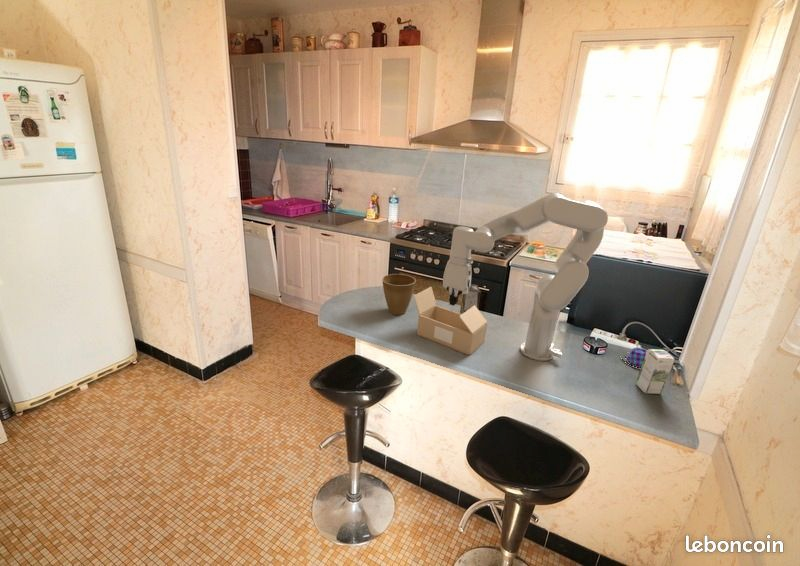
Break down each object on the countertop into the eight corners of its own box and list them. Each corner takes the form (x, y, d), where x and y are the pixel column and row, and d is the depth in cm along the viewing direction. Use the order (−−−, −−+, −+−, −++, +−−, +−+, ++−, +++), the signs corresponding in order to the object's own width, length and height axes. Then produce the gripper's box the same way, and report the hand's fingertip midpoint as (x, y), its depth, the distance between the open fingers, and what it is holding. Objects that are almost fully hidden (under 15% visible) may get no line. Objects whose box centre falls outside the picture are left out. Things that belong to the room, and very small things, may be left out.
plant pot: (414, 306, 185) (417, 275, 179) (411, 320, 171) (413, 287, 165) (384, 303, 187) (385, 271, 181) (377, 316, 173) (379, 283, 167)
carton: (484, 342, 157) (487, 322, 154) (469, 356, 147) (472, 335, 143) (433, 323, 170) (435, 305, 166) (416, 334, 159) (418, 315, 156)
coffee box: (476, 326, 170) (481, 292, 164) (461, 325, 170) (466, 291, 164) (473, 316, 178) (477, 284, 173) (459, 315, 178) (463, 283, 173)
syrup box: (650, 384, 137) (663, 348, 131) (661, 395, 131) (675, 358, 126) (634, 383, 136) (647, 348, 131) (645, 394, 131) (658, 357, 125)
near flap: (458, 316, 145) (459, 315, 145) (474, 305, 155) (474, 305, 155) (471, 333, 144) (472, 333, 143) (486, 321, 154) (487, 321, 153)
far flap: (431, 286, 165) (430, 286, 165) (414, 295, 155) (413, 295, 155) (436, 304, 166) (435, 304, 166) (419, 314, 156) (418, 314, 156)
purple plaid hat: (644, 355, 156) (648, 343, 154) (662, 372, 145) (666, 360, 143) (614, 353, 156) (617, 341, 154) (630, 370, 145) (633, 358, 143)
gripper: (482, 262, 145) (474, 307, 152) (447, 253, 153) (441, 295, 159) (473, 267, 139) (465, 313, 146) (437, 257, 147) (431, 301, 154)
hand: (453, 304), depth 153 cm, fingers closed
